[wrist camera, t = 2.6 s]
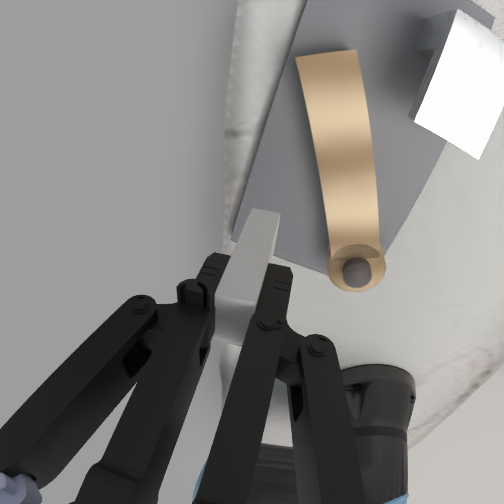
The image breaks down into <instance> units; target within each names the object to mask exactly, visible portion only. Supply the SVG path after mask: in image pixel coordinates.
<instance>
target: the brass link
mask: <svg viewBox="0 0 504 504" xmlns="http://www.w3.org/2000/svg"><path fill="white" fill-rule="evenodd" d="M295 59H296V63H297V67H298V71H299V75H300V79H301V84H302V88H303V93H304V97H305V102H306V106H307V111H308V116H309V121H310V126H311V131H312V136H313V141H314V146H315V152H316V157H317V163H318V169H319V174H320V180H321V186H322V193H323V199H324V205H325V212H326V219H327V226H328V233H329V244H328V258H327V272H328V276H329V278H330V280H331V281H332V283H333V284H334V285H336V286H337V287H339V288H340V289H343V290H345V291H350V292H360V291H365V290H368V289H370V288H372V287H374V286H375V285H376V284H378V283H379V282H380V280H381V279H382V278H383V276H384V273H385V269H386V264H385V259H384V255H383V250H382V246H381V242H380V239H379V217H378V200H377V187H376V175H375V164H374V155H373V146H372V138H371V130H370V123H369V116H368V109H367V103H366V97H365V91H364V85H363V80H362V75H361V70H360V65H359V60H358V55H357V50H346V51H337V52H328V53H321V54H314V55H307V56H301V57H295Z"/></svg>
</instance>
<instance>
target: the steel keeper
mask: <svg viewBox="0 0 504 504" xmlns="http://www.w3.org/2000/svg"><path fill="white" fill-rule="evenodd" d="M414 50H415V51H417V52H419V53H421V54H422V55H424V56H426V57H428V58H430V59H431V61H430V63H429V66H428V68H427V71H426V74H425V76H424V79H423V81H422V84H421V86H420V88H419V91H418V93H417V96H416V98H415V100H414V103H413V105H412V108H411V110H410V112H409V115H408V117H409V118H410V119H412V120H413V121H414V122H416V123H418V124H420V125H422V126H424V127H425V128H427V129H429V130H431V131H433V132H434V133H436V134H438V135H440V136H441V137H443V138H445V139H447V140H448V141H450V142H452V143H453V144H455V145H456V146H458V147H460V148H461V149H463V150H465V151H466V152H468V153H469V154H471V155H472V156H474V157H475V158H477V159H479V157H480V155H481V153H482V151H483V149H484V147H485V145H486V143H487V141H488V139H489V137H490V134H491V132H492V130H493V128H494V126H495V123H496V121H497V119H498V116H499V114H500V112H501V109H502V107H503V104H504V41H503V40H502V39H501V38H500V37H498V36H497V35H496V34H494V33H493V32H492V31H490V30H489V29H487V28H486V27H485V26H483V25H482V24H480V23H479V22H478V21H476V20H475V19H473V18H472V17H470V16H469V15H467V14H466V13H464V12H463V11H461V10H459V9H454V10H451V11H447V12H444V13H441V14H437V15H434V16H431V17H428V18H425V19H424V22H423V25H422V28H421V31H420V33H419V36H418V39H417V42H416V44H415V47H414Z"/></svg>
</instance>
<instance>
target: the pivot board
mask: <svg viewBox="0 0 504 504" xmlns="http://www.w3.org/2000/svg"><path fill="white" fill-rule="evenodd" d="M454 9H459V10H461V11H463V12H464V13H466V14H467V15H469V16H470V17H472V18H473V19H475V20H476V21H478V22H479V23H480V24H482V25H483V26H485V27H486V28H487V29H489V30H490V31H491V28H492V25H493V22H494V19H495V17H493V16H492V15H491V14H489V13H488V12H486V11H485V10H484V9H482V8H481V7H479V6H478V5H476V4H475V3H473V2H472V1H470V0H307V3H306V6H305V9H304V12H303V15H302V17H301V20H300V23H299V26H298V29H297V32H296V35H295V38H294V41H293V44H292V47H291V50H290V52H289V55H288V58H287V61H286V64H285V67H284V70H283V73H282V76H281V79H280V83H279V86H278V89H277V92H276V95H275V98H274V101H273V104H272V107H271V110H270V113H269V116H268V119H267V123H266V126H265V129H264V132H263V135H262V138H261V141H260V145H259V148H258V151H257V154H256V157H255V161H254V164H253V167H252V170H251V173H250V177H249V180H248V183H247V186H246V190H245V193H244V196H243V200H242V203H241V206H240V209H239V213H238V216H237V219H236V223H235V226H234V229H233V233H232V236H231V241H234V242H237V241H238V239H239V237H240V234H241V232H242V230H243V228H244V225H245V223H246V221H247V219H248V216H249V214H250V212H251V209H252V208H256V209H261V210H266V211H271V212H277V213H281V214H280V220H279V226H278V232H277V237H276V243H275V249H274V255H273V256H276V257H279V258H281V259H284V260H287V261H290V262H292V263H295V264H298V265H301V266H304V267H306V268H309V269H312V270H315V271H317V272H320V273H323V274H326V275H328V272H327V258H328V244H329V233H328V226H327V219H326V212H325V205H324V199H323V193H322V186H321V180H320V174H319V169H318V163H317V157H316V152H315V146H314V141H313V136H312V131H311V126H310V121H309V116H308V111H307V106H306V102H305V97H304V93H303V88H302V84H301V79H300V75H299V71H298V67H297V63H296V59H295V57H301V56H307V55H314V54H321V53H328V52H337V51H346V50H357V55H358V60H359V65H360V70H361V75H362V80H363V85H364V91H365V97H366V103H367V109H368V116H369V123H370V130H371V138H372V146H373V155H374V164H375V175H376V187H377V200H378V217H379V239H380V242H381V246H382V250H383V255H385V253H386V251H387V250H388V248H389V247H390V245H391V243H392V242H393V240H394V238H395V237H396V235H397V233H398V232H399V230H400V228H401V227H402V225H403V223H404V221H405V220H406V218H407V216H408V215H409V213H410V211H411V209H412V207H413V206H414V204H415V202H416V200H417V198H418V197H419V195H420V193H421V191H422V189H423V187H424V186H425V184H426V182H427V180H428V178H429V176H430V174H431V172H432V170H433V168H434V166H435V164H436V162H437V161H438V159H439V156H440V154H441V152H442V150H443V148H444V146H445V144H446V142H447V139H445V138H443V137H441V136H440V135H438V134H436V133H434V132H433V131H431V130H429V129H427V128H425V127H424V126H422V125H420V124H418V123H416V122H414V121H413V120H412V119H410V118H409V117H408V115H409V112H410V110H411V108H412V105H413V103H414V100H415V98H416V96H417V93H418V91H419V88H420V86H421V84H422V81H423V79H424V76H425V74H426V71H427V68H428V66H429V63H430V61H431V59H430V58H428V57H426V56H424V55H422V54H421V53H419V52H417V51H415V50H414V47H415V44H416V42H417V39H418V36H419V33H420V31H421V28H422V25H423V22H424V19H425V18H428V17H431V16H434V15H437V14H441V13H444V12H447V11H451V10H454Z"/></svg>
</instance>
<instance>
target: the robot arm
mask: <svg viewBox="0 0 504 504" xmlns="http://www.w3.org/2000/svg"><path fill="white" fill-rule="evenodd" d="M280 214H281V213H277V212H271V211H266V210H261V209H256V208H252V209H251V212H250V214H249V216H248V219H247V221H246V223H245V225H244V228H243V230H242V232H241V234H240V237H239V239H238V241H237V244H236V246H235V248H234V250H233V253H232V255H231V256H229V255H225V254H220V253H215V252H214V253H213V254H211V255H210V256H209V257H207V258H206V260H205V262H204V264H203V266H202V268H201V270H200V272H199V273H198V275H197V278H196V279H187V280H185V281H182V282H181V283H179V285H178V286H177V299H178V302H177V303H173V304H156V302H155V300H154V299H153V298H152V297H150V296H147V295H136V296H133V297H131V298H130V299H128V300H127V301H126V302H125V303H124V304H123V305H122V306H121V307H120V308H118V310H116V311H115V312H114V313H113V314H112V315H111V316H110V317H109V318H108V319H107V320H106V321H105V322H104V323H103V324H102V325H101V326H100V327H99V328H98V329H97V330H96V331H95V332H94V333H92V335H90V336H89V337H88V338H87V340H85V341H84V342H83V343H82V344H81V345H80V346H79V348H77V349H76V350H75V351H74V352H73V353H72V354H71V355H70V356H69V357H68V358H67V359H66V360H65V361H64V362H63V363H62V364H61V365H60V366H59V367H58V368H57V369H56V370H55V371H54V372H53V373H52V374H51V375H50V376H49V378H48V379H47V380H46V381H45V382H44V383H43V384H42V385H41V386H40V387H39V388H38V389H37V390H36V391H35V392H34V393H33V394H32V395H31V396H30V397H29V398H28V400H27V401H26V402H25V403H24V404H23V405H22V406H21V407H20V408H19V409H18V410H17V411H16V412H15V413H14V415H13V416H12V417H11V418H10V419H9V420H8V421H7V422H6V423H5V424H4V426H3V427H2V428H1V429H0V504H40V503H41V502H42V496H41V494H40V492H39V489H41V488H43V487H44V486H46V485H47V484H49V483H50V482H51V481H53V480H54V479H55V478H56V477H57V475H59V474H60V473H61V471H62V470H63V469H64V468H65V467H66V466H67V464H68V463H69V462H70V461H71V460H72V458H73V457H74V456H75V455H76V454H77V452H78V451H79V450H80V449H81V448H82V447H83V445H84V444H85V443H86V442H87V440H88V439H89V438H90V437H91V436H92V435H93V433H94V432H95V431H96V430H97V429H98V428H99V426H100V425H101V424H102V423H103V422H104V420H105V419H106V418H107V417H108V416H109V414H110V413H111V412H112V411H113V410H114V408H115V407H116V406H117V405H118V404H119V403H120V401H121V400H122V399H123V398H124V397H125V396H126V394H127V393H128V392H129V391H130V390H131V388H132V387H133V386H134V385H135V384H136V382H137V381H138V382H137V384H136V386H135V388H134V390H133V392H132V395H131V397H130V399H129V401H128V403H127V405H126V407H125V409H124V411H123V414H122V416H121V418H120V420H119V422H118V424H117V427H116V429H115V431H114V433H113V435H112V437H111V439H110V442H109V444H108V446H107V448H106V451H105V453H104V455H103V457H102V459H101V460H100V461H99V462H98V463H96V464H94V465H93V466H92V467H91V468H90V469H89V471H88V473H87V474H86V476H85V479H84V481H83V483H82V486H81V488H80V490H79V493H78V495H77V497H76V500H75V502H72V503H69V504H157V502H158V493H159V489H160V486H161V484H162V481H163V478H164V475H165V473H166V470H167V467H168V464H169V461H170V459H171V456H172V453H173V450H174V448H175V445H176V442H177V439H178V437H179V434H180V431H181V428H182V426H183V423H184V420H185V417H186V415H187V412H188V409H189V406H190V403H191V401H192V398H193V396H194V393H195V390H196V387H197V384H198V382H199V379H200V376H201V374H202V371H203V368H204V366H205V363H206V360H207V357H208V355H209V352H210V347H211V340H212V337H213V334H214V340H218V341H222V342H226V343H230V344H235V345H239V346H242V349H241V352H240V355H239V359H238V362H237V365H236V369H235V372H234V375H233V379H232V382H231V385H230V389H229V392H228V395H227V398H226V402H225V405H224V408H223V412H222V415H221V418H220V421H219V425H218V428H217V431H216V434H215V437H214V441H213V444H212V447H211V450H210V454H209V457H208V459H207V461H206V463H205V464H204V466H203V469H202V471H201V473H200V475H199V478H198V480H197V483H196V486H195V489H194V493H193V502H192V504H406V501H407V497H408V494H407V490H408V456H407V429H408V425H409V422H410V418H411V415H412V411H413V407H414V403H415V399H416V390H415V382H414V379H413V378H412V376H411V375H410V374H409V373H407V372H406V371H404V370H401V369H399V368H396V367H391V366H383V365H368V366H360V367H355V368H350V369H347V370H344V371H341V370H340V366H339V361H338V357H337V353H336V349H335V346H334V344H333V342H332V341H331V340H330V339H329V338H327V337H325V336H323V335H318V334H313V335H308V336H307V337H304V336H302V335H300V334H298V333H296V332H295V331H293V330H292V329H291V328H290V327H289V325H288V323H287V320H286V314H287V309H288V303H289V297H290V291H291V286H292V280H293V274H292V271H291V269H290V267H286V266H281V265H276V264H271V262H272V259H273V255H274V249H275V243H276V237H277V232H278V226H279V220H280ZM275 378H277V379H279V380H281V381H283V382H284V383H286V384H287V393H288V402H289V412H290V421H291V431H292V441H293V447H287V446H279V445H271V444H264V443H261V441H262V437H263V432H264V428H265V423H266V419H267V414H268V409H269V405H270V400H271V395H272V391H273V386H274V381H275Z"/></svg>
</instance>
